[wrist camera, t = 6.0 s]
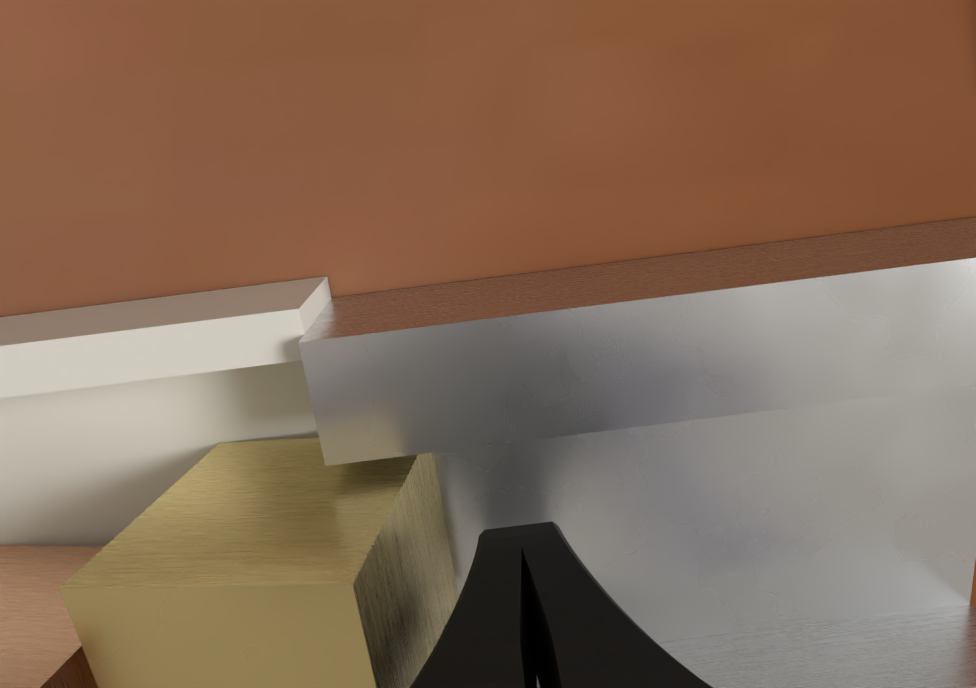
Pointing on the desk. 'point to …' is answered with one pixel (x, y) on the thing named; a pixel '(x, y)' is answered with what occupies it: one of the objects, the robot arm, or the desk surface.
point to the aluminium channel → (704, 440)
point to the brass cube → (272, 575)
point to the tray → (141, 401)
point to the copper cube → (40, 618)
